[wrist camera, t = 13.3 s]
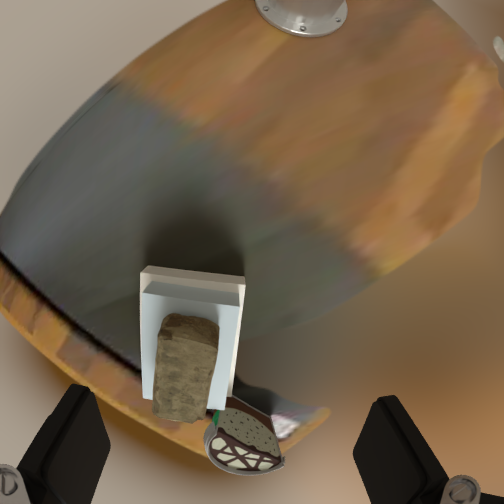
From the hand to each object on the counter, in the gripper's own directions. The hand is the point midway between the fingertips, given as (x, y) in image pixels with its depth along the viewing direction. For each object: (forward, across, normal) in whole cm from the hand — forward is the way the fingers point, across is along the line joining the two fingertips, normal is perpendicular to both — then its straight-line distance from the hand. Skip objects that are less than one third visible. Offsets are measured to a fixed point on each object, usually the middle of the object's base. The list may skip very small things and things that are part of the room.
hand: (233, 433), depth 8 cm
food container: (+28, -1, +26) cm, 38 cm away
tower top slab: (+25, +5, +11) cm, 28 cm away
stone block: (+21, +5, +11) cm, 24 cm away
